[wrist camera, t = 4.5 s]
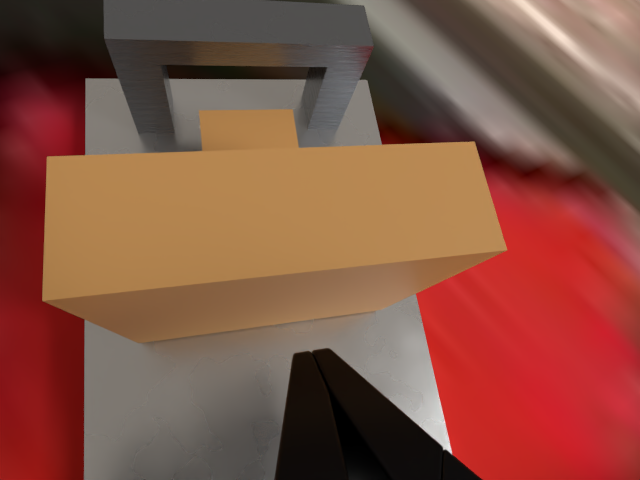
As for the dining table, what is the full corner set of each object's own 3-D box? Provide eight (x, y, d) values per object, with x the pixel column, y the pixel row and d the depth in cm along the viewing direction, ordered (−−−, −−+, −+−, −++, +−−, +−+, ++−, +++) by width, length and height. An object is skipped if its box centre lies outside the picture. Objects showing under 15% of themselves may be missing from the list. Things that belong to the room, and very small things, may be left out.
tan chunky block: (381, 309, 18) (507, 250, 10) (138, 343, 16) (42, 300, 8) (345, 132, 21) (422, -32, 13) (131, 138, 19) (54, -60, 10)
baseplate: (471, 590, 17) (613, 711, 11) (92, 716, 14) (-22, 998, 7) (361, 91, 24) (408, -11, 18) (92, 92, 20) (32, -35, 14)
